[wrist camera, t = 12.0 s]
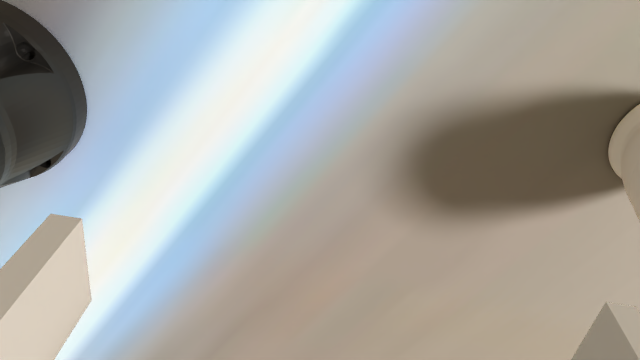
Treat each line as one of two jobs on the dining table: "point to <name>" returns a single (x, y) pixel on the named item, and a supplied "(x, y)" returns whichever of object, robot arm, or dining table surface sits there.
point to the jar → (628, 155)
